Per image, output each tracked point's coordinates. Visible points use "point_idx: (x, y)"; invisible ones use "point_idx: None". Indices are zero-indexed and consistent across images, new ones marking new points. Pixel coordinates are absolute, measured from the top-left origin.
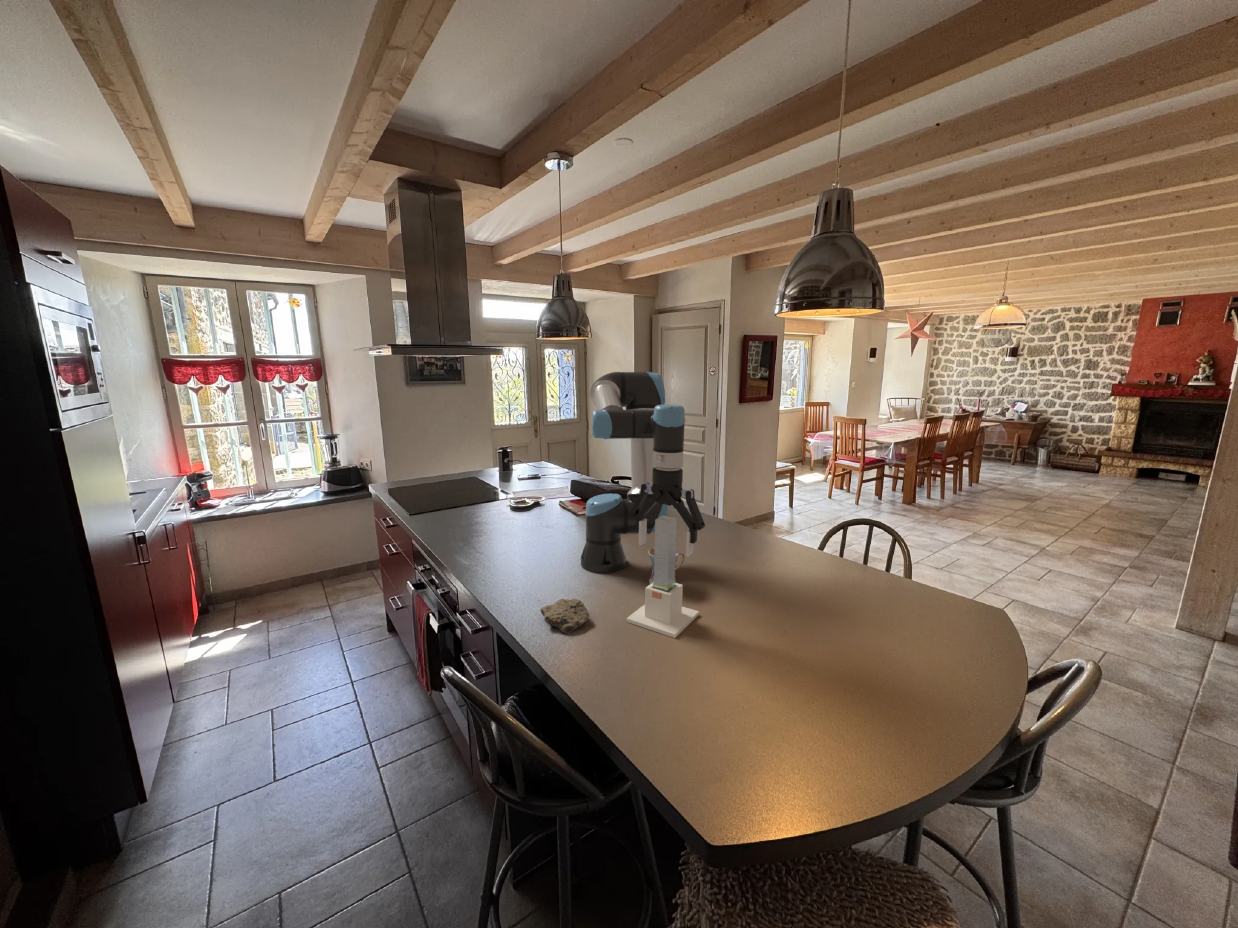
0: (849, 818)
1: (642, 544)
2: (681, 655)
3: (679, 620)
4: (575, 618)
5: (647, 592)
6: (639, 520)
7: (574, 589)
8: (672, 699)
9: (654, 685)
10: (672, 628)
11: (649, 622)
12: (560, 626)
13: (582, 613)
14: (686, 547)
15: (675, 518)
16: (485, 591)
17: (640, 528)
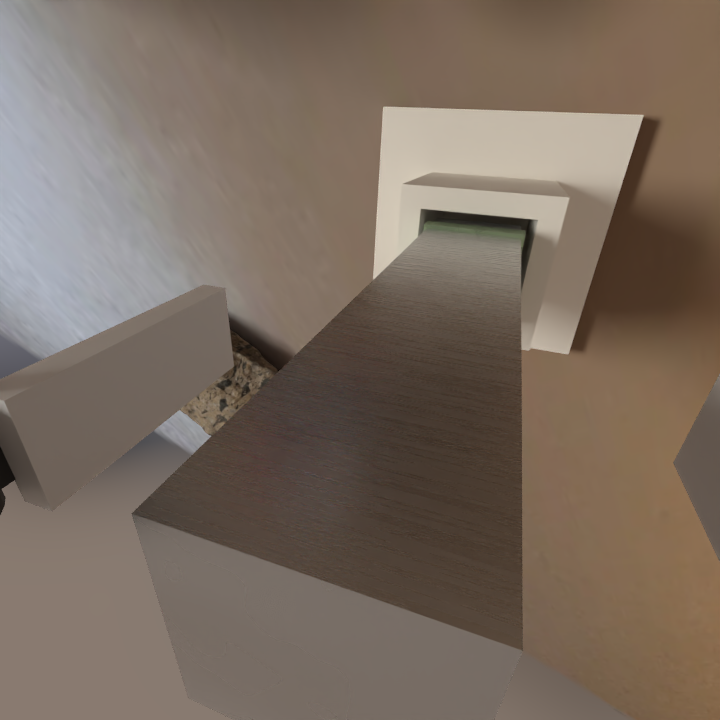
0: None
1: (230, 346)
2: (612, 428)
3: (561, 251)
4: None
5: None
6: (7, 474)
7: (119, 191)
8: (623, 579)
9: (566, 547)
10: (548, 320)
11: None
12: None
13: (259, 379)
14: (713, 535)
15: (489, 664)
16: (7, 323)
17: (116, 448)
